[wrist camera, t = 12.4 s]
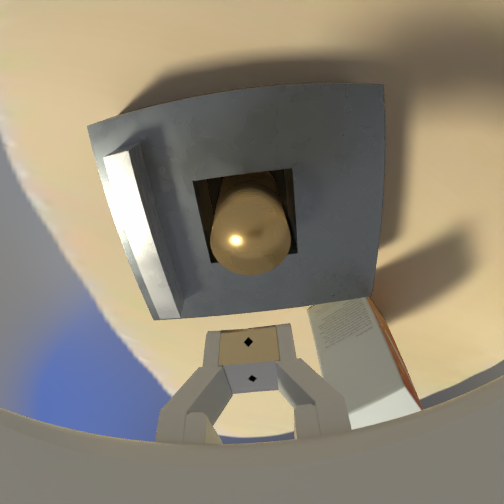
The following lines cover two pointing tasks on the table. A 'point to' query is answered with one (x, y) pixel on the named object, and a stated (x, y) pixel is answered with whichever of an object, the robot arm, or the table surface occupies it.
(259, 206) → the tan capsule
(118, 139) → the jig
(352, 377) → the small box
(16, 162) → the table surface
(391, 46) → the table surface
